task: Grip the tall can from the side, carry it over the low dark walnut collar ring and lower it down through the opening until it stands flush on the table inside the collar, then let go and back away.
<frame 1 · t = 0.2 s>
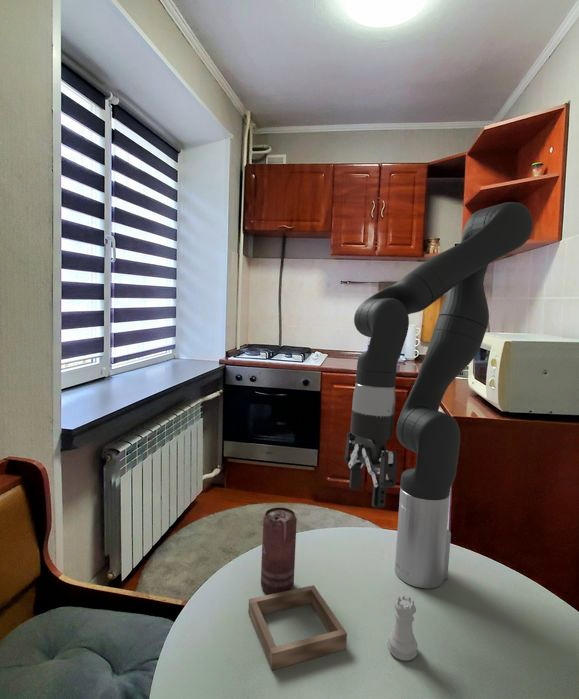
hand: (365, 497, 77), 18 cm above the table, tool pointing down, fingers open, 8 cm apart
walnut collar: (294, 630, 67), on the table
can: (277, 587, 78), on the table
rook chess piece: (401, 652, 64), on the table
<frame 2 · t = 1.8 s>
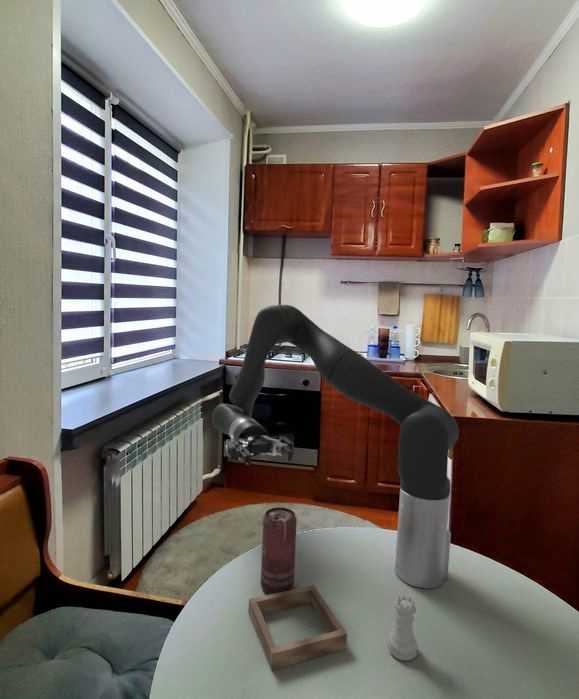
hand: (270, 458, 85), 21 cm above the table, tool horizontal, fingers open, 8 cm apart
nothing on the table moved.
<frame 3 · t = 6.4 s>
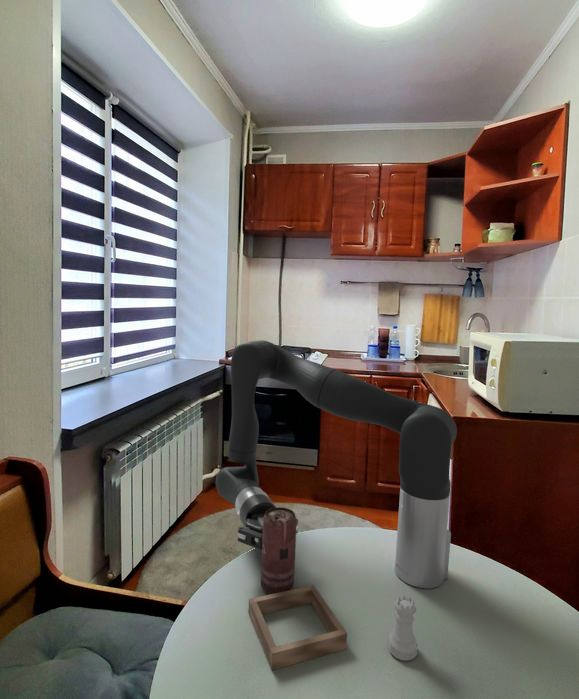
hand: (284, 554, 74), 8 cm above the table, tool horizontal, fingers closed
can: (277, 587, 78), on the table, touching gripper
everything else where it was.
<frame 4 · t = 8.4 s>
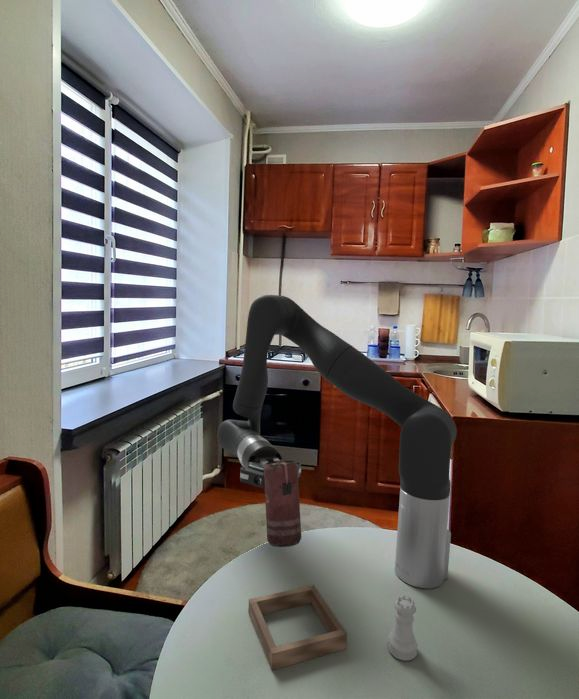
hand: (287, 490, 73), 20 cm above the table, tool horizontal, fingers closed
can: (284, 543, 75), point 10 cm above the table, touching gripper, hand
everything else where it was.
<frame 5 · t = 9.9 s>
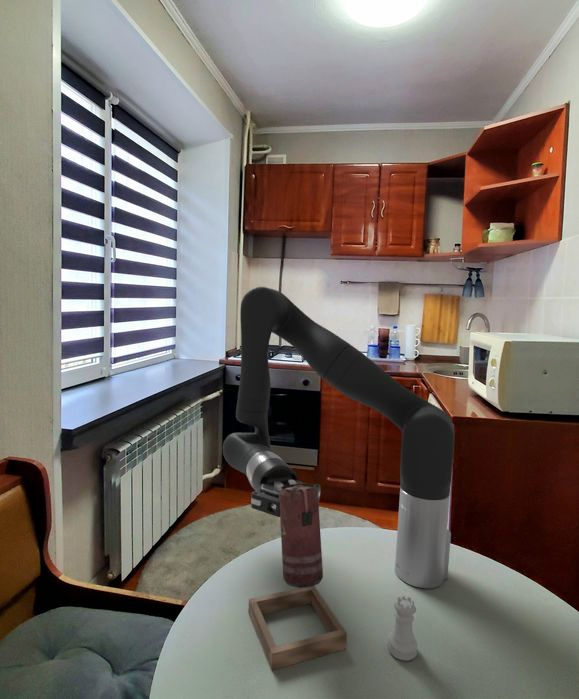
hand: (307, 520, 63), 20 cm above the table, tool horizontal, fingers closed
can: (303, 582, 64), point 10 cm above the table, touching gripper, hand
everything else where it was.
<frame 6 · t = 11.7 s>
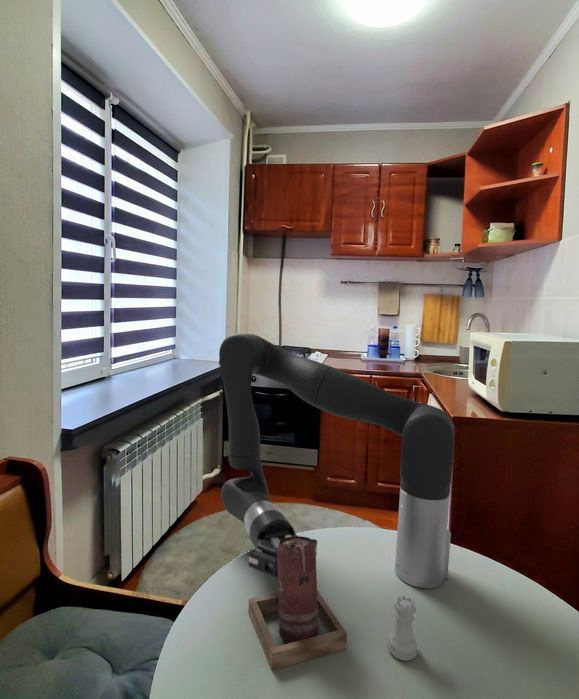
hand: (304, 583, 64), 10 cm above the table, tool horizontal, fingers closed
can: (299, 637, 65), point 1 cm above the table
everything else where it was.
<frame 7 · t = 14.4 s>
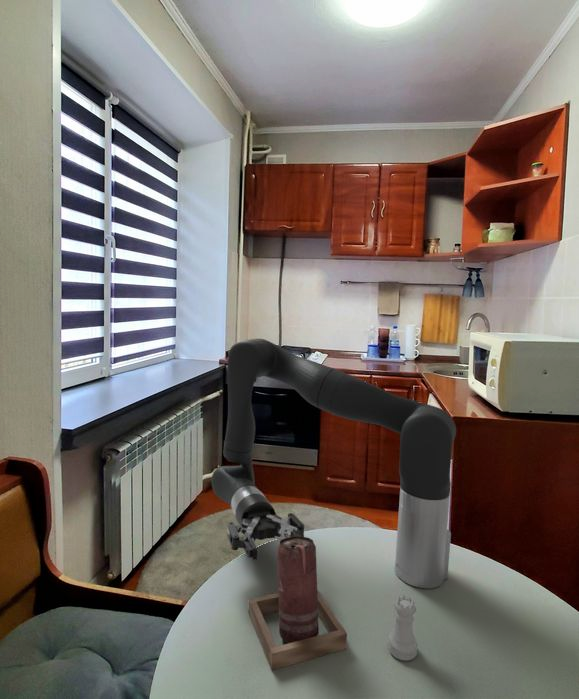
hand: (278, 551, 74), 8 cm above the table, tool horizontal, fingers open, 8 cm apart
can: (299, 637, 65), resting in walnut collar
everything else where it was.
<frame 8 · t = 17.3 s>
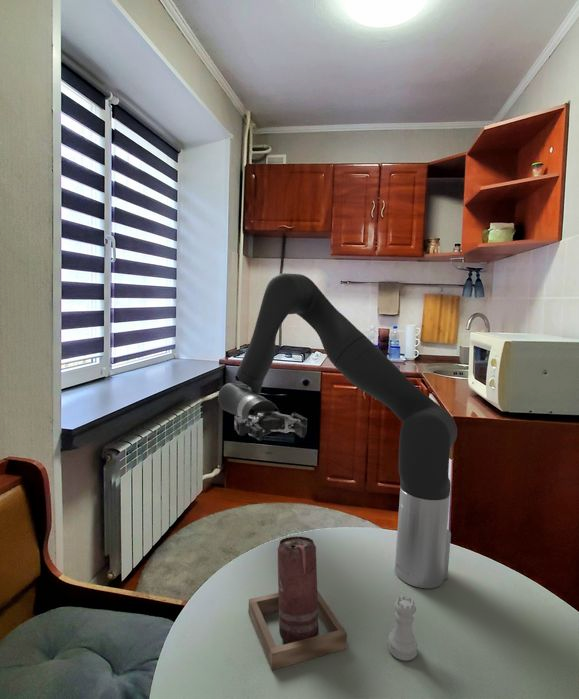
hand: (282, 433, 79), 28 cm above the table, tool horizontal, fingers open, 8 cm apart
nothing on the table moved.
at the end: can 2.1 cm off-centre on the walnut collar, point 0.5 cm above the walnut collar's base; can tilted 12°; the gripper is holding nothing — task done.
